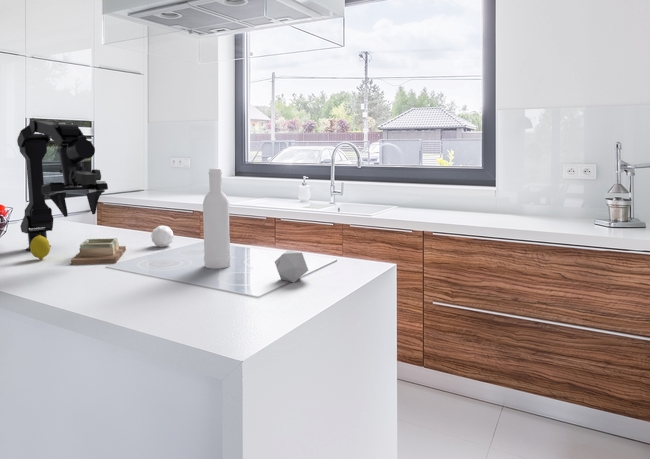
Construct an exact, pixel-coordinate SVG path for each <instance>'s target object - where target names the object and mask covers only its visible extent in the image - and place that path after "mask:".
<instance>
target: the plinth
mask: <svg viewBox="0 0 650 459" xmlns="http://www.w3.org/2000/svg"><path fill="white" fill-rule="evenodd" d="M126 250H127V246H126V245H119V240H118V238H117V237H116V238H87V239H85V240H83V242H81V243H80V245H79V252H78V253H77V254H75V256H74V257H72V258H71V259H70V266H71V265H76V266H77V265H97V264H98V265H101V264H105V265H106V264H117V262H118V261H120V259H121V257H122V256H123V255H124V253H125V252H127V251H126Z"/></svg>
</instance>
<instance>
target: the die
mask: <svg viewBox="0 0 650 459" xmlns="http://www.w3.org/2000/svg"><path fill="white" fill-rule="evenodd" d="M274 264H275V267H276V269H277V272H278V276H279V278H280V280H282V281H286V280H287V282H291V283H296V282H297V281H298V280H299V279H300V278H301V277H302V276H304V275H305V274H306V273H307V272H308V271H309V269H308V265H307V263H306V260H305V257H304V254H303V252H300V251H296V250H292V249H287V251H285V252H284V253H282V254H281V255H280V256H279V257H278V258H277V259H276V260H274Z"/></svg>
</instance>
